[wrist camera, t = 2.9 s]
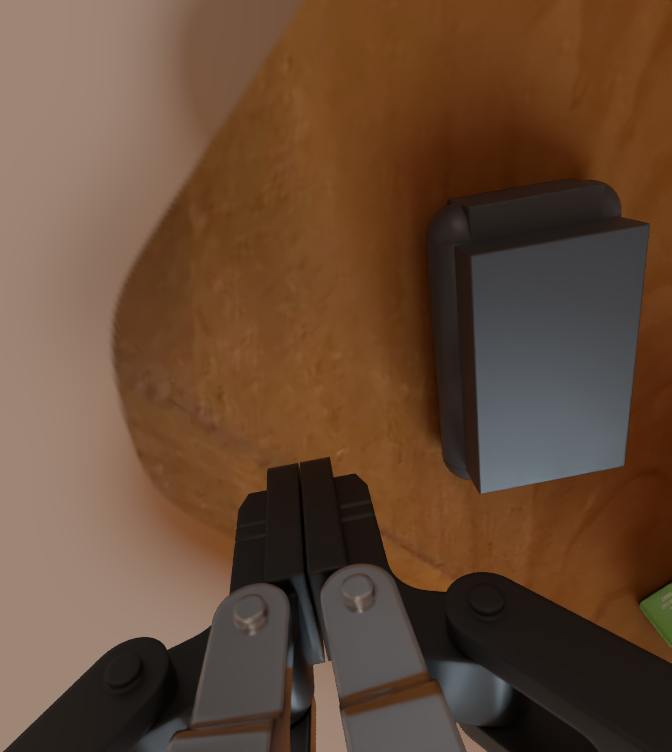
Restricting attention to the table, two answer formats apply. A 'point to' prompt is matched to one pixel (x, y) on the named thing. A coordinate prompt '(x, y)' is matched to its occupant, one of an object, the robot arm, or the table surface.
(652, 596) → the ink box
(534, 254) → the dark grey plastic block
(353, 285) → the table surface
